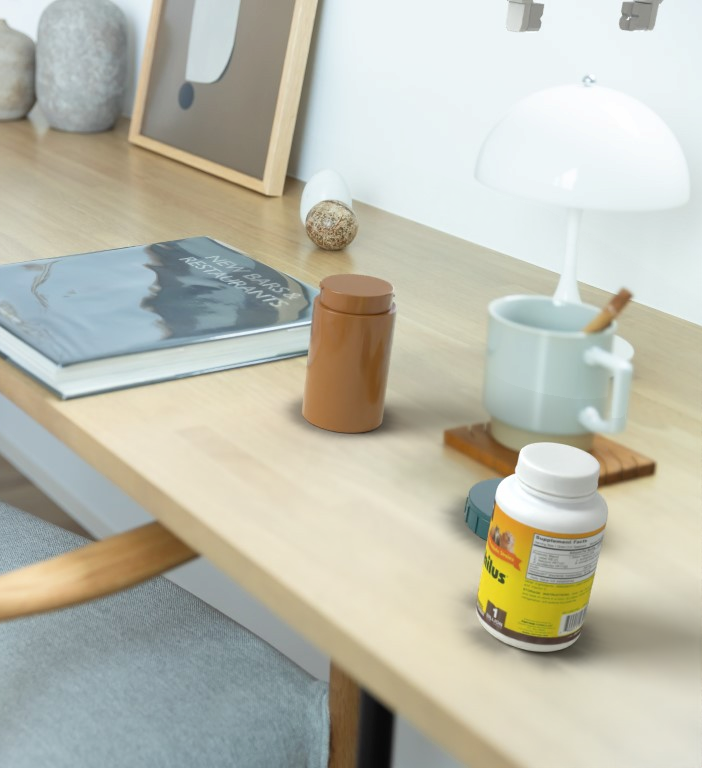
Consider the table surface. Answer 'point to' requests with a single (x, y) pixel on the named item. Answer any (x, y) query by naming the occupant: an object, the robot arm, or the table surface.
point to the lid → (481, 506)
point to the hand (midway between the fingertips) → (579, 31)
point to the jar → (349, 353)
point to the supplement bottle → (542, 548)
